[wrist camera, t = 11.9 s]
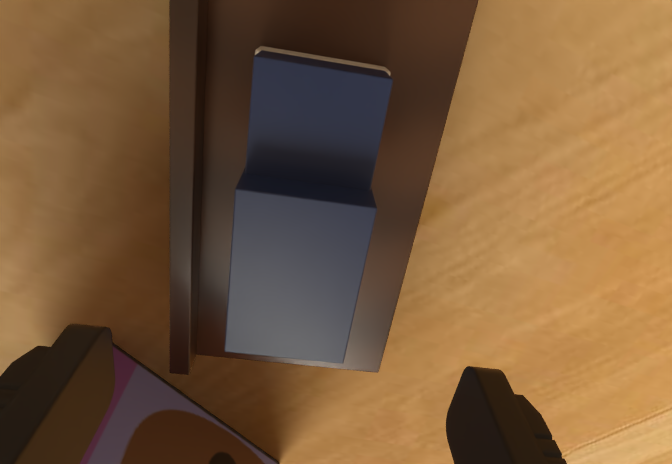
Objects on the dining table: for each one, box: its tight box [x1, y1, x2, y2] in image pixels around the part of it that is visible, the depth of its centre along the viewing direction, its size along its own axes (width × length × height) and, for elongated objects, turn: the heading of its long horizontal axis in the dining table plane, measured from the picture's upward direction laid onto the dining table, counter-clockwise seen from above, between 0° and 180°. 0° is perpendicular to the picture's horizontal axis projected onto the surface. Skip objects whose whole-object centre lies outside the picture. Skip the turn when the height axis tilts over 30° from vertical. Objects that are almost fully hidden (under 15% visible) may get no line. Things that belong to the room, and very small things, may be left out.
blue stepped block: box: [224, 46, 393, 364], centre depth 18 cm, size 12×5×5 cm, turn 171°
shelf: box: [169, 0, 478, 375], centre depth 22 cm, size 20×11×6 cm, turn 171°
